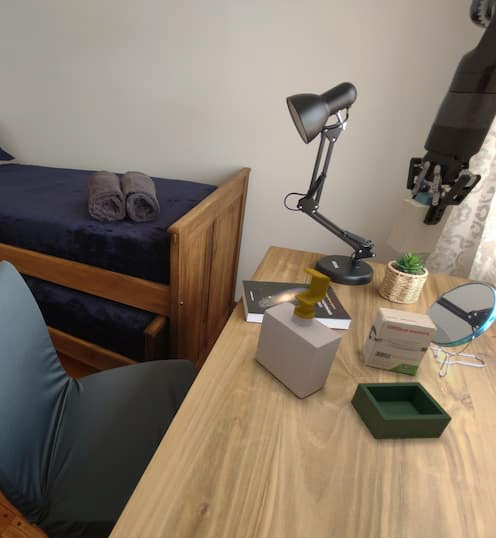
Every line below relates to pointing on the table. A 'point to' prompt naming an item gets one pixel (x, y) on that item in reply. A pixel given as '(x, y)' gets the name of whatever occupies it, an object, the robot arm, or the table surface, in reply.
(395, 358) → the ink box
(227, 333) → the table surface
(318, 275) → the soap bottle
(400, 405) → the holder
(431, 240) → the beige teal-capped bottle
